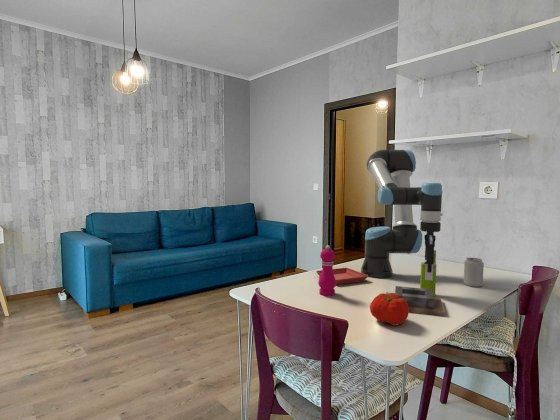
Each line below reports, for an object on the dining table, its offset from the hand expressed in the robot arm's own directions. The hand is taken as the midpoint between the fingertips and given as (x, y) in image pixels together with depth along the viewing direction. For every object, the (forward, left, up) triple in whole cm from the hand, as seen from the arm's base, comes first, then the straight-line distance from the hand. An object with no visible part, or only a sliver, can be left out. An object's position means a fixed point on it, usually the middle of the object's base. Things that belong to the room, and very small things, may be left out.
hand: (428, 278), depth 146 cm
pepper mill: (-39, -13, -7) cm, 42 cm away
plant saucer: (-37, +11, -7) cm, 39 cm away
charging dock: (-6, -16, -7) cm, 18 cm away
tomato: (-14, -35, -7) cm, 38 cm away
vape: (0, 0, -7) cm, 7 cm away
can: (+20, +21, -7) cm, 30 cm away
